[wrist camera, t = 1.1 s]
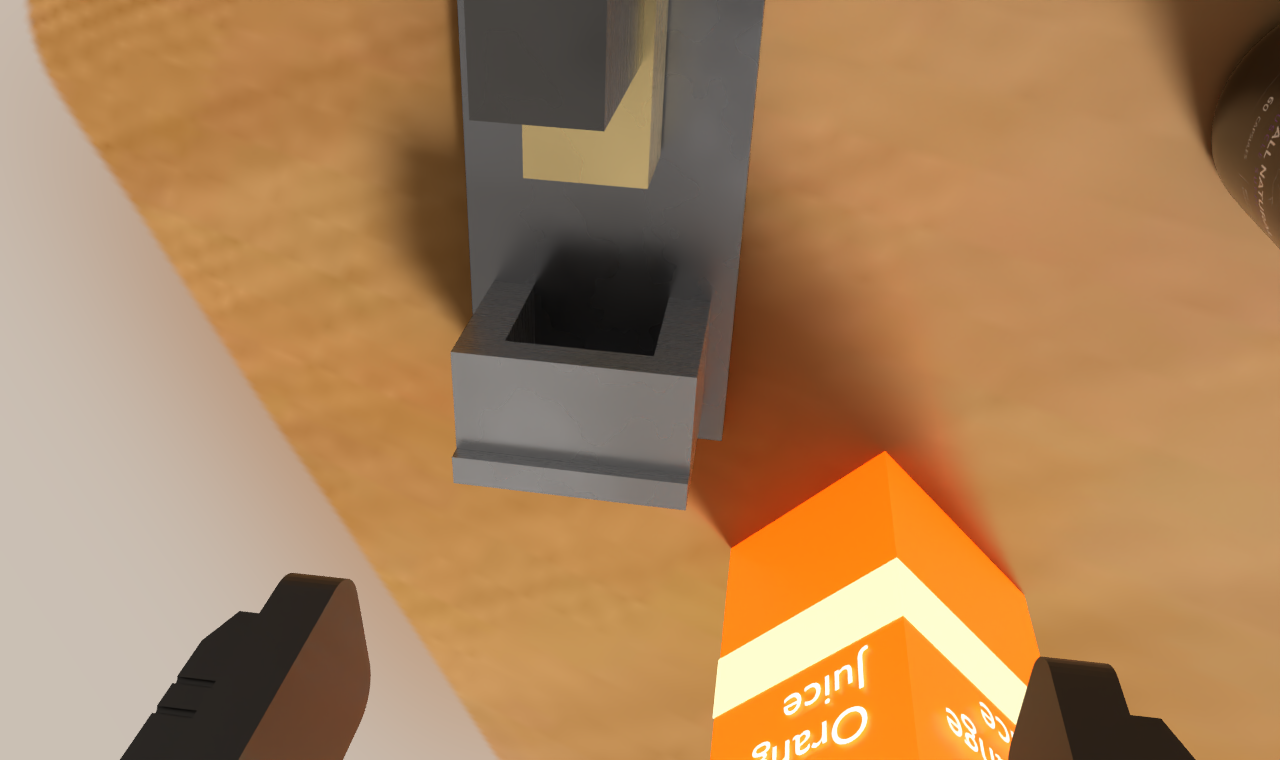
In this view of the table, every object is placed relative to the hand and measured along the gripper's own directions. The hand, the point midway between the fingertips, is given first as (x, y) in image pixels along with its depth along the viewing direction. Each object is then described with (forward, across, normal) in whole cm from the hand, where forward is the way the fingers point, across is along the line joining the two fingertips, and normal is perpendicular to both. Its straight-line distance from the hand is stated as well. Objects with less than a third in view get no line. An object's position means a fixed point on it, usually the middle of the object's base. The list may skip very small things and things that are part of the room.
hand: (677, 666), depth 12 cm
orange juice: (+23, -6, +18) cm, 30 cm away
